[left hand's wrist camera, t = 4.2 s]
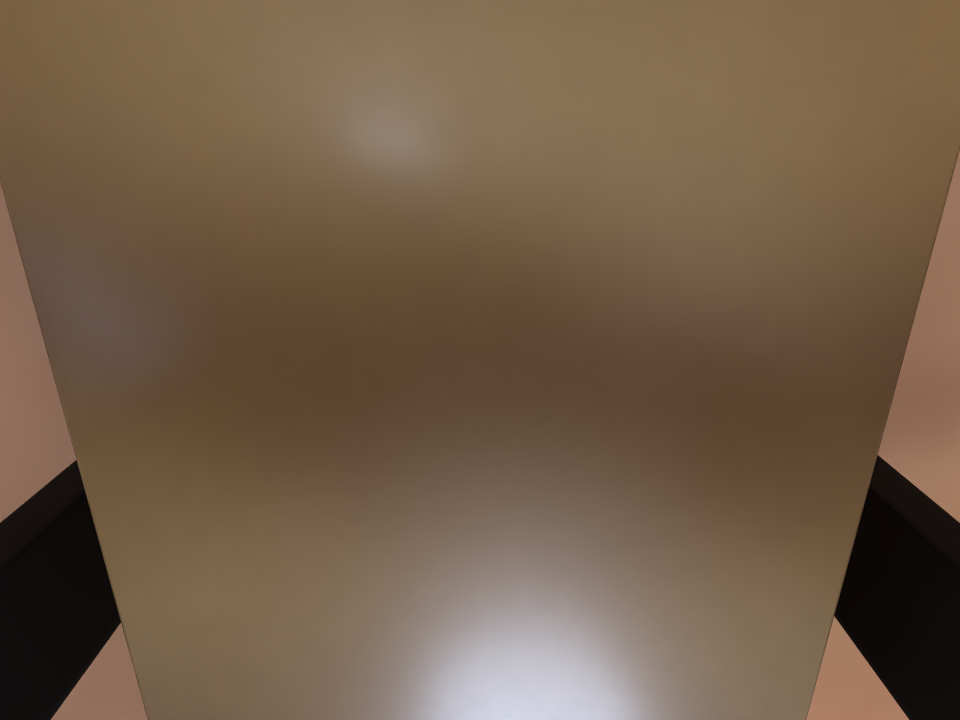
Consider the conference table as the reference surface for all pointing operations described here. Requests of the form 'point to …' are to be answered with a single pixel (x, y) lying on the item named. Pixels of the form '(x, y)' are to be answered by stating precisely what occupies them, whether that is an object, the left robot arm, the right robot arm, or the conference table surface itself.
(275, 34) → the wide beam
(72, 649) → the left robot arm
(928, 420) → the conference table surface
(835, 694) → the conference table surface
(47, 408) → the conference table surface
